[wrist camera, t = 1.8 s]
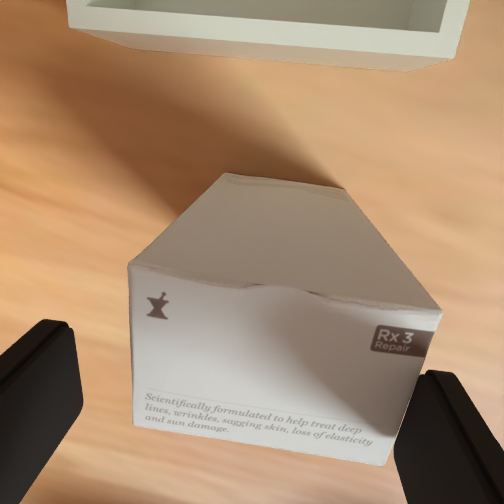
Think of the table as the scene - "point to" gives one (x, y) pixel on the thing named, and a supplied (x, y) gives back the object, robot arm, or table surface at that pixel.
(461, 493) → the robot arm
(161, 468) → the table surface
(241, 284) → the skincare box
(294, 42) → the box
